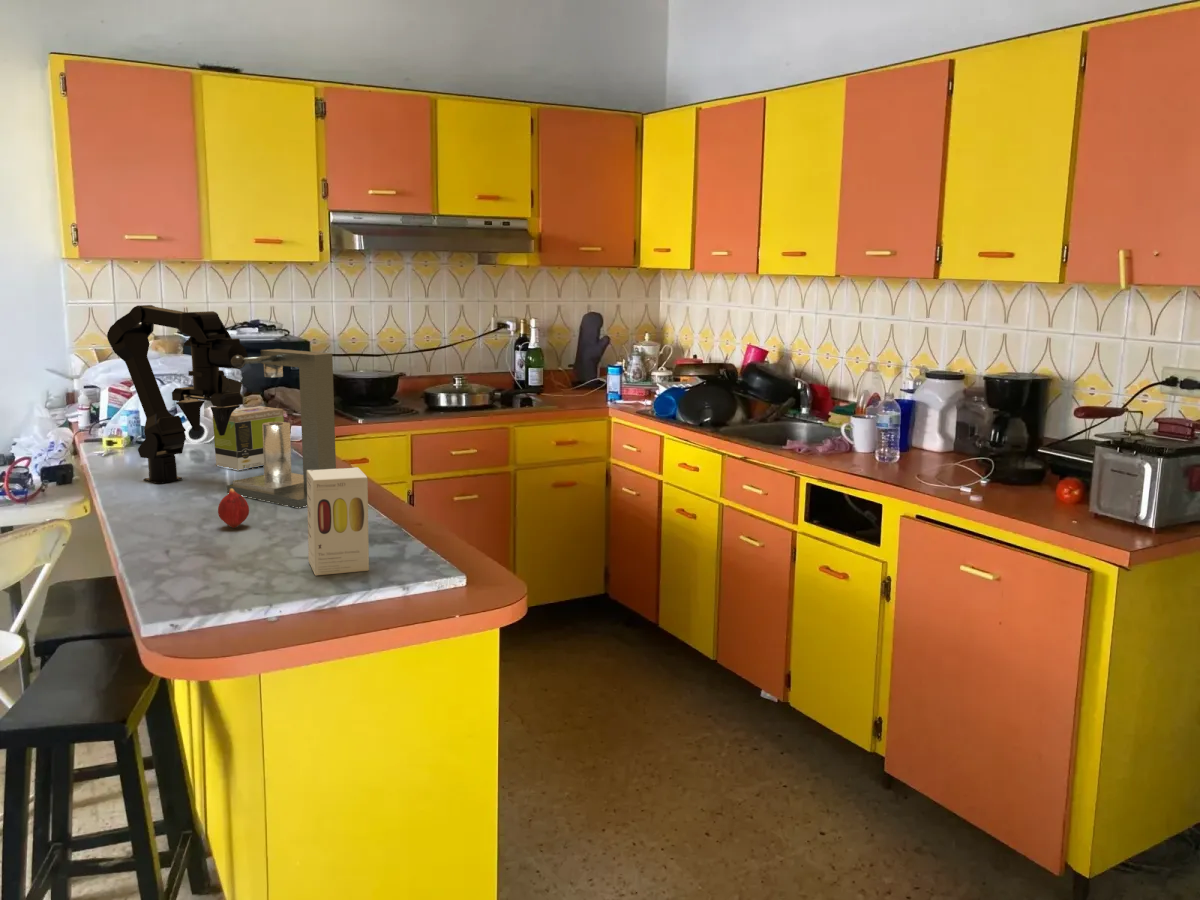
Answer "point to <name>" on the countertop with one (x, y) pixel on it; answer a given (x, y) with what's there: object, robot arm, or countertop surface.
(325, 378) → the arbor press
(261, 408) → the tea box
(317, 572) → the supplement box
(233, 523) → the onion
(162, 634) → the countertop surface
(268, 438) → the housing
